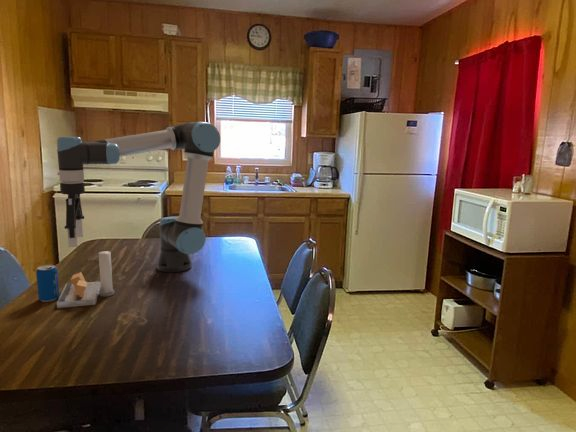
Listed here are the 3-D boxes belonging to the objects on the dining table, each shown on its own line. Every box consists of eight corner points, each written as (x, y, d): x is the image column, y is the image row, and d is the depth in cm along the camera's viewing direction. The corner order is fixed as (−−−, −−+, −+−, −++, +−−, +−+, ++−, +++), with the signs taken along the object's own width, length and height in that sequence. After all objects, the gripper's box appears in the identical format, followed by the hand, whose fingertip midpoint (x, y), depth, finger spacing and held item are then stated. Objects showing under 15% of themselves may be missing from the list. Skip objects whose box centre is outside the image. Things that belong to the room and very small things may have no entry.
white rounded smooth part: (115, 290, 158) (112, 250, 155) (114, 296, 153) (111, 254, 150) (100, 292, 156) (97, 251, 153) (98, 297, 151) (96, 255, 148)
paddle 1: (86, 282, 158) (81, 271, 157) (84, 287, 153) (78, 276, 152) (78, 285, 158) (73, 274, 156) (76, 290, 153) (70, 280, 151)
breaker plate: (100, 286, 162) (100, 280, 162) (95, 304, 145) (95, 298, 145) (66, 289, 158) (65, 283, 158) (57, 308, 142) (56, 301, 141)
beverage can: (50, 303, 145) (47, 270, 142) (34, 301, 146) (31, 269, 144) (63, 296, 151) (61, 265, 149) (48, 294, 152) (45, 263, 150)
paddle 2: (83, 293, 150) (87, 281, 150) (81, 299, 145) (85, 287, 145) (75, 291, 149) (79, 279, 149) (72, 297, 144) (76, 285, 144)
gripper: (66, 178, 154) (70, 233, 158) (52, 187, 131) (57, 251, 135) (88, 178, 156) (91, 232, 160) (78, 186, 133) (83, 250, 137)
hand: (76, 241), depth 148 cm, fingers open, 13 cm apart
